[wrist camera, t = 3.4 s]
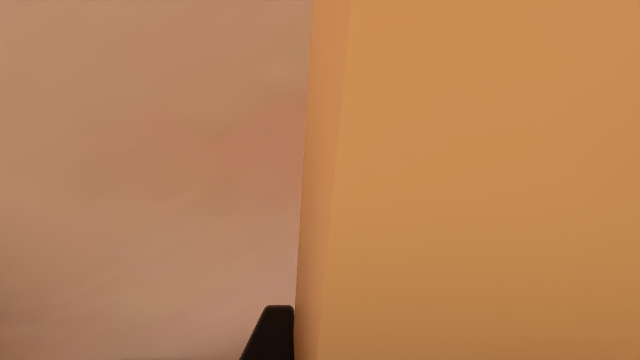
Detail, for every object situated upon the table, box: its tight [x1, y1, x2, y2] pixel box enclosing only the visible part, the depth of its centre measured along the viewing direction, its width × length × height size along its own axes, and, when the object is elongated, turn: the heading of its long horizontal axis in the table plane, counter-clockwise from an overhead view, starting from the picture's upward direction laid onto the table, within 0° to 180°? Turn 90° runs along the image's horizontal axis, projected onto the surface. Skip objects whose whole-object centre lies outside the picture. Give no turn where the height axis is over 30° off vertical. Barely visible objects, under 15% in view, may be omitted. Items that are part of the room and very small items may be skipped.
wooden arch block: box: [293, 0, 640, 360], centre depth 9 cm, size 13×3×6 cm, turn 176°
